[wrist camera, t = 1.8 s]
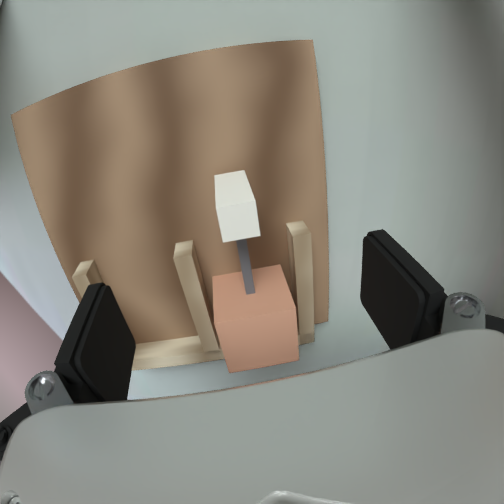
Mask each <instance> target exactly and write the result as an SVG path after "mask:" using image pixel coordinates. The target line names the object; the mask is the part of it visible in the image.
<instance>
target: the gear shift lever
mask: <svg viewBox="0 0 504 504" xmlns="http://www.w3.org/2000/svg"><path fill="white" fill-rule="evenodd" d="M214 178H215V201H216V211H217V216H218V221H219V226H220V231H221V236H222V241H223V243H224V242H229V241H235V240H236V243H237V248H238V253H239V259H240V264H241V269H242V271H241V272H235V273H230V274H224V275H218V276H213V277H212V282H213V310H214V325H215V328H216V331H217V335H218V338H219V341H220V345H221V348H222V351H223V354H224V358H225V361H226V364H227V367H228V370H229V373H233V372H239V371H245V370H251V369H257V368H262V367H268V366H273V365H278V364H283V363H288V362H293V361H297V360H299V348H298V332H297V316H296V307H295V304H294V301H293V298H292V296H291V293H290V290H289V287H288V284H287V282H286V279H285V276H284V273H283V271H282V268H281V265H280V264H279V265H274V266H268V267H263V268H257V269H252V270H251V264H250V258H249V252H248V246H247V240H246V238H251V237H257V236H260V229H259V222H258V215H257V208H256V201H255V198H254V195H253V193H252V190H251V187H250V184H249V182H248V179H247V176H246V174H245V171H244V170H241V171H235V172H230V173H224V174H219V175H214Z"/></svg>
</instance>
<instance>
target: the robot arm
mask: <svg viewBox="0 0 504 504" xmlns="http://www.w3.org/2000/svg"><path fill="white" fill-rule="evenodd" d="M360 298H361V302H362V305H363V306H364V308H365V309H366V311H367V313H368V314H369V316H370V317H371V319H372V320H373V322H374V324H375V325H376V327H377V328H378V330H379V332H380V333H381V335H382V336H383V338H384V340H385V341H386V343H387V345H388V346H389V348H390V350H389V351H385V352H382V353H378V354H375V355H372V356H368V357H365V358H362V359H358V360H354V361H351V362H347V363H344V364H340V365H336V366H332V367H328V368H324V369H320V370H316V371H312V372H308V373H303V374H299V375H294V376H290V377H285V378H281V379H276V380H271V381H266V382H261V383H256V384H250V385H245V386H239V387H233V388H227V389H221V390H214V391H207V392H200V393H193V394H185V395H177V396H168V397H159V398H148V399H136V400H127V396H128V389H129V383H130V377H131V371H132V366H133V360H134V355H135V349H136V343H135V339H134V337H133V335H132V333H131V331H130V329H129V327H128V325H127V322H126V320H125V318H124V316H123V314H122V312H121V310H120V307H119V305H118V303H117V301H116V299H115V296H114V294H113V292H112V289H111V287H110V286H109V285H105V283H103V282H101V283H96V284H90V285H88V287H87V289H86V291H85V293H84V295H83V297H82V300H81V302H80V304H79V306H78V308H77V310H76V313H75V315H74V317H73V319H72V321H71V324H70V326H69V328H68V331H67V333H66V335H65V338H64V340H63V343H62V345H61V347H60V350H59V353H58V355H57V358H56V360H55V363H54V364H55V365H56V368H55V371H54V372H52V371H43V372H40V373H38V374H36V375H35V376H34V377H33V378H32V379H31V380H30V381H29V382H28V384H27V386H26V389H25V398H26V401H27V403H25V404H24V405H23V406H21V407H20V408H19V409H17V410H16V411H15V412H13V413H12V414H11V415H10V416H8V417H7V418H6V419H4V420H3V421H2V422H1V423H0V504H504V319H501V318H498V317H494V316H490V315H486V314H485V307H484V305H483V303H482V301H481V300H479V299H478V298H477V297H475V296H474V295H472V294H468V293H463V292H458V293H453V294H451V295H449V296H447V295H446V294H445V293H444V288H443V287H442V286H441V285H440V284H439V283H438V282H437V281H436V280H435V279H434V278H433V277H432V276H431V275H430V274H429V273H428V272H427V271H426V270H425V269H424V268H423V267H422V266H421V265H420V264H419V263H418V262H417V261H416V260H415V259H414V258H413V257H412V256H411V255H410V254H409V253H408V252H407V251H406V250H405V249H404V248H403V247H402V246H401V245H400V244H398V243H397V242H396V241H395V240H394V239H393V238H392V237H391V236H390V235H389V234H388V233H387V232H386V231H385V230H383V229H382V230H376V231H371V232H368V234H367V236H366V237H364V239H363V257H362V277H361V293H360Z"/></svg>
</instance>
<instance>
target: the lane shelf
mask: <svg viewBox="0 0 504 504" xmlns="http://www.w3.org/2000/svg"><path fill="white" fill-rule="evenodd" d="M11 118H12V123H13V127H14V131H15V135H16V139H17V143H18V147H19V151H20V154H21V158H22V161H23V165H24V168H25V171H26V174H27V178H28V181H29V184H30V187H31V190H32V193H33V196H34V199H35V201H36V204H37V207H38V210H39V212H40V215H41V218H42V220H43V223H44V226H45V228H46V231H47V233H48V236H49V238H50V240H51V243H52V245H53V247H54V250H55V252H56V254H57V257H58V259H59V261H60V263H61V266H62V268H63V270H64V272H65V274H66V276H67V278H68V281H69V283H70V285H71V287H72V289H73V291H74V293H75V295H76V297H77V299H78V301H79V303H80V302H81V300H82V297H83V295H84V293H85V291H86V289H87V287H88V285H90V284H96V283H101V282H103V283H105V285H109V286H110V287H111V289H112V292H113V294H114V296H115V299H116V301H117V303H118V305H119V307H120V310H121V312H122V314H123V316H124V318H125V320H126V322H127V325H128V327H129V329H130V331H131V333H132V335H133V337H134V339H135V343H136V349H135V355H134V360H133V366H132V370H142V369H152V368H161V367H170V366H178V365H186V364H194V363H201V362H208V361H215V360H221V359H225V358H224V354H223V351H222V348H221V345H220V341H219V338H218V335H217V331H216V328H215V325H214V310H213V282H212V277H213V276H218V275H224V274H230V273H235V272H241V271H242V269H241V264H240V259H239V253H238V248H237V243H236V240H235V241H229V242H224V243H223V241H222V236H221V231H220V226H219V221H218V216H217V211H216V201H215V178H214V175H219V174H224V173H230V172H235V171H241V170H244V171H245V174H246V176H247V179H248V182H249V184H250V187H251V190H252V193H253V195H254V198H255V201H256V208H257V215H258V222H259V229H260V236H257V237H251V238H246V240H247V246H248V252H249V258H250V264H251V270H252V269H257V268H263V267H268V266H274V265H279V264H280V265H281V268H282V271H283V273H284V276H285V279H286V282H287V284H288V287H289V290H290V293H291V296H292V298H293V301H294V304H295V307H296V316H297V332H298V345H302V344H307V343H312V342H314V324H318V323H323V322H327V321H328V306H329V251H328V212H327V188H326V170H325V154H324V140H323V128H322V116H321V106H320V96H319V86H318V77H317V69H316V61H315V53H314V46H313V40H292V41H276V42H264V43H254V44H246V45H238V46H230V47H223V48H217V49H211V50H205V51H199V52H194V53H189V54H184V55H179V56H175V57H170V58H166V59H162V60H158V61H154V62H150V63H146V64H142V65H138V66H135V67H131V68H128V69H125V70H121V71H118V72H115V73H112V74H109V75H105V76H102V77H99V78H97V79H94V80H91V81H88V82H85V83H83V84H80V85H77V86H75V87H72V88H69V89H67V90H64V91H62V92H60V93H57V94H55V95H52V96H50V97H48V98H45V99H43V100H41V101H39V102H37V103H34V104H32V105H30V106H28V107H26V108H24V109H22V110H20V111H18V112H16V113H14V114H12V115H11Z"/></svg>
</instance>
